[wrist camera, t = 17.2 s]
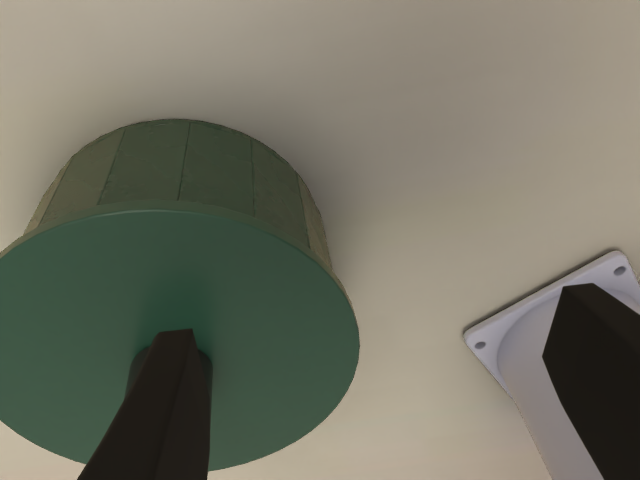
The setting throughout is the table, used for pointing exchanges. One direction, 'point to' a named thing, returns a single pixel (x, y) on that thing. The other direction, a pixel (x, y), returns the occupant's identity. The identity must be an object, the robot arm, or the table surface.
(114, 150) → the pot
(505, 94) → the table surface
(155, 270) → the lid
